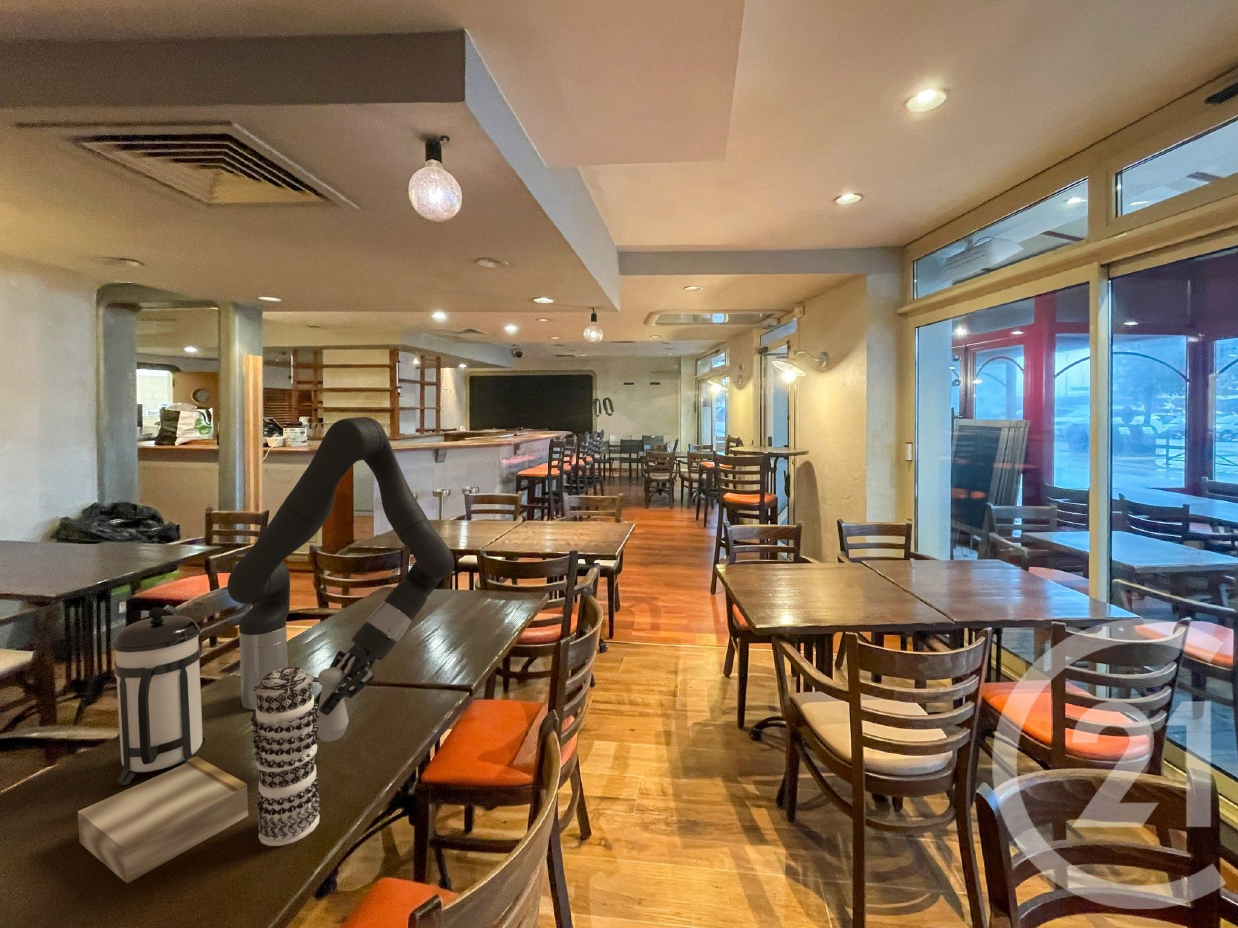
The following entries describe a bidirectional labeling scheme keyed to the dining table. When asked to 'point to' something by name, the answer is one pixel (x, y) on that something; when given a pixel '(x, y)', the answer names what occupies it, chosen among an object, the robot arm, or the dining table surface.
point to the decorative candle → (286, 756)
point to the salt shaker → (338, 718)
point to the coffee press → (158, 693)
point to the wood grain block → (162, 817)
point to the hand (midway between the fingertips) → (319, 709)
